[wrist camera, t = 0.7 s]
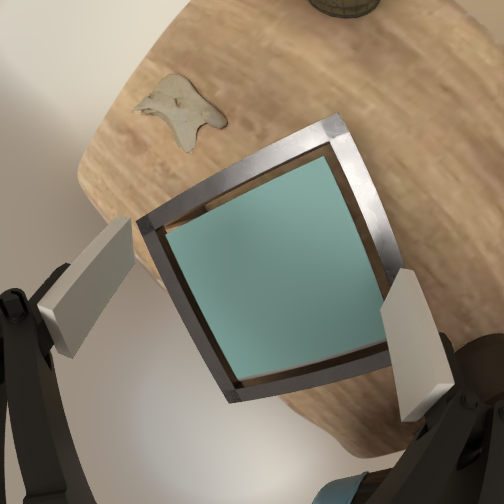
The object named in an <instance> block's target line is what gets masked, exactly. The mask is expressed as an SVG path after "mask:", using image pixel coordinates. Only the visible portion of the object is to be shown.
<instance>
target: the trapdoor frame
mask: <svg viewBox="0 0 504 504" xmlns="http://www.w3.org/2000/svg"><path fill="white" fill-rule="evenodd" d="M330 143H331V145H332V147H333V149H334V152H335V154H336V156H337V158H338V160H339V162H340V164H341V166H342V168H343V171H344V173H345V175H346V177H347V179H348V181H349V184H350V186H351V188H352V190H353V193H354V195H355V197H356V200H357V202H358V204H359V207H360V209H361V211H362V214H363V216H364V219H365V221H366V224H367V226H368V228H369V231H370V234H371V236H372V239H373V241H374V244H375V246H376V249H377V252H378V254H379V257H380V260H381V262H382V265H383V268H384V271H385V274H386V276H387V279H388V282H389V285H390V288H391V287H392V284H393V282H394V280H395V278H396V276H397V274H398V272H399V270H400V268H403V269H406V268H405V265H404V262H403V259H402V257H401V254H400V251H399V248H398V245H397V242H396V240H395V237H394V234H393V232H392V229H391V226H390V224H389V221H388V219H387V216H386V213H385V211H384V208H383V206H382V204H381V201H380V199H379V196H378V194H377V192H376V189H375V187H374V185H373V182H372V180H371V178H370V176H369V173H368V171H367V169H366V167H365V164H364V162H363V160H362V158H361V156H360V154H359V152H358V150H357V147H356V145H355V143H354V141H353V139H352V137H351V135H350V133H349V131H348V129H347V127H346V125H345V123H344V122H343V120H342V118H341V116H340V114H339V113H337V114H334V115H332V116H330V117H328V118H326V119H323V120H321V121H319V122H317V123H315V124H313V125H310V126H308V127H306V128H304V129H302V130H300V131H298V132H296V133H294V134H292V135H289V136H287V137H285V138H283V139H281V140H279V141H277V142H275V143H273V144H271V145H269V146H267V147H265V148H263V149H261V150H260V151H258V152H256V153H254V154H252V155H250V156H248V157H246V158H244V159H242V160H240V161H239V162H237V163H235V164H233V165H231V166H229V167H227V168H226V169H224V170H222V171H220V172H218V173H216V174H215V175H213V176H211V177H209V178H207V179H206V180H204V181H202V182H200V183H199V184H197V185H195V186H193V187H192V188H190V189H188V190H186V191H185V192H183V193H181V194H180V195H178V196H176V197H175V198H173V199H171V200H170V201H168V202H166V203H165V204H163V205H161V206H160V207H158V208H156V209H155V210H153V211H151V212H150V213H148V214H147V215H145V216H143V217H142V218H140V219H139V220H137V221H136V223H137V225H138V227H139V230H140V232H141V234H142V237H143V239H144V241H145V243H146V246H147V248H148V250H149V252H150V254H151V257H152V259H153V261H154V263H155V265H156V267H157V270H158V272H159V274H160V276H161V278H162V280H163V282H164V284H165V286H166V288H167V290H168V292H169V295H170V297H171V299H172V301H173V302H174V305H175V307H176V308H177V310H178V312H179V314H180V316H181V318H182V320H183V322H184V324H185V326H186V328H187V330H188V332H189V334H190V336H191V337H192V339H193V341H194V343H195V345H196V347H197V348H198V350H199V352H200V354H201V356H202V358H203V359H204V361H205V363H206V365H207V367H208V368H209V370H210V372H211V373H212V375H213V377H214V379H215V380H216V382H217V384H218V386H219V388H220V389H221V391H222V392H223V394H224V396H225V398H226V399H227V401H228V403H236V402H242V401H249V400H254V399H260V398H265V397H271V396H276V395H281V394H286V393H291V392H295V391H300V390H304V389H309V388H313V387H317V386H321V385H325V384H329V383H333V382H337V381H340V380H344V379H348V378H351V377H355V376H358V375H362V374H365V373H368V372H372V371H375V370H378V369H381V368H384V367H387V366H391V365H392V363H391V357H390V352H389V348H388V343H387V341H386V342H383V343H380V344H377V345H374V346H371V347H368V348H365V349H361V350H358V351H355V352H352V353H349V354H345V355H342V356H339V357H335V358H332V359H328V360H325V361H321V362H318V363H314V364H310V365H307V366H303V367H299V368H295V369H291V370H287V371H283V372H279V373H274V374H270V375H266V376H261V377H257V378H252V379H247V380H242V381H239V380H238V379H237V377H236V375H235V374H234V372H233V370H232V368H231V366H230V364H229V363H228V361H227V359H226V357H225V355H224V353H223V351H222V350H221V348H220V346H219V344H218V342H217V340H216V338H215V336H214V334H213V332H212V330H211V329H210V327H209V325H208V323H207V321H206V319H205V317H204V315H203V313H202V311H201V309H200V307H199V305H198V303H197V301H196V299H195V297H194V295H193V293H192V291H191V289H190V287H189V285H188V283H187V280H186V278H185V276H184V274H183V272H182V270H181V268H180V266H179V264H178V262H177V259H176V257H175V255H174V253H173V251H172V249H171V246H170V244H169V242H168V240H167V238H166V234H167V232H166V229H169V228H173V227H176V226H179V225H182V224H186V223H188V222H190V221H192V220H194V219H196V218H198V217H200V216H201V215H203V214H205V213H207V211H206V209H205V207H204V205H205V204H207V203H209V202H211V201H213V200H215V199H217V198H219V197H221V196H223V195H224V194H226V193H228V192H230V191H232V190H234V189H236V188H238V187H240V186H242V185H244V184H246V183H248V182H250V181H252V180H254V179H256V178H258V177H260V176H262V175H264V174H266V173H268V172H270V171H272V170H274V169H276V168H278V167H280V166H282V165H284V164H287V163H289V162H291V161H293V160H295V159H297V158H299V157H301V156H303V155H306V154H308V153H310V152H312V151H314V150H316V149H319V148H321V147H323V146H325V145H327V144H330Z"/></svg>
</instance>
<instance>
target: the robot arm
mask: <svg viewBox="0 0 504 504" xmlns="http://www.w3.org/2000/svg"><path fill="white" fill-rule="evenodd" d="M134 264H135V262H134V251H133V240H132V227H131V218H129V217H123V216H116V217H115V218H114V219H113V220H112V221H111V222H110V223H109V224H108V225H107V226H106V228H105V229H104V230H103V231H102V232H101V233H100V234H99V235H98V236H97V237H96V238H95V239H94V240H93V241H92V242H91V243H90V244H89V245H88V247H86V248H85V250H84V251H83V252H82V253H81V254H80V255H79V256H78V257H77V258H76V259H75V261H74V262H73V263H72V264H68V263H65V264H63V265H62V266H60V267H58V268H57V269H56V270H55V271H54V272H53V273H52V274H51V276H50V277H49V278H48V279H47V280H46V281H45V282H44V284H42V286H41V287H40V288H39V289H38V290H37V291H36V293H35V294H34V295H33V296H32V297H31V298H30V300H29V301H28V300H27V298H26V295H25V293H24V291H22V290H21V289H18V288H12V289H9V290H7V291H5V292H3V293H2V294H1V295H0V504H6V496H5V477H4V475H5V474H4V443H5V423H6V410H7V400H8V408H9V415H10V422H11V428H12V433H13V439H14V444H15V449H16V453H17V458H18V462H19V466H20V470H21V474H22V477H23V481H24V485H25V488H26V496H25V497H24V499H23V504H97V503H96V501H95V499H94V497H93V495H92V492H91V490H90V487H89V485H88V483H87V480H86V477H85V475H84V472H83V469H82V467H81V464H80V461H79V458H78V455H77V453H76V450H75V446H74V443H73V440H72V437H71V434H70V430H69V427H68V423H67V420H66V416H65V413H64V409H63V405H62V401H61V396H60V392H59V388H58V383H57V378H56V374H55V368H54V363H53V358H52V354H51V352H50V349H51V348H52V346H53V345H55V347H56V349H57V351H58V353H59V354H62V355H64V356H67V357H69V358H72V359H73V358H74V356H75V354H76V353H77V351H78V349H79V348H80V346H81V345H82V343H83V341H84V339H85V338H86V336H87V335H88V333H89V331H90V330H91V328H92V327H93V325H94V324H95V322H96V320H97V319H98V317H99V316H100V314H101V313H102V311H103V309H104V308H105V307H106V305H107V303H108V302H109V301H110V299H111V298H112V296H113V295H114V293H115V292H116V290H117V288H118V287H119V285H120V284H121V283H122V281H123V280H124V278H125V277H126V275H127V274H128V272H129V271H130V270H131V268H132V267H133V265H134ZM380 312H381V316H382V320H383V324H384V329H385V333H386V338H387V343H388V348H389V352H390V357H391V363H392V368H393V373H394V379H395V385H396V390H397V397H398V403H399V410H400V416H401V422H415V421H418V420H419V419H420V418H421V417H422V416H423V415H424V414H425V418H426V422H425V423H424V424H423V425H421V426H420V427H419V428H418V429H417V430H416V431H415V432H414V433H413V435H415V434H416V433H417V434H416V436H415V437H414V439H413V440H412V442H411V443H410V445H409V446H408V448H407V449H406V451H405V452H404V453H403V455H402V456H401V458H400V459H399V461H398V462H397V463H396V465H395V466H394V467H393V468H389V469H385V470H380V471H376V472H372V473H369V472H363V473H362V474H361V475H356V476H352V477H347V478H343V479H338V480H334V481H332V482H329V483H328V484H326V485H325V486H324V487H323V488H322V489H321V490H320V491H319V492H318V494H317V495H316V497H315V498H314V500H313V502H312V504H504V334H494V335H488V336H485V337H482V338H479V339H477V340H475V341H473V342H471V343H469V344H467V345H466V346H464V347H463V348H461V349H460V350H459V351H457V352H456V353H454V349H453V347H452V344H451V342H450V340H449V339H448V338H447V336H446V335H445V334H444V333H438V331H437V328H436V325H435V322H434V320H433V317H432V314H431V312H430V309H429V307H428V304H427V302H426V299H425V297H424V294H423V292H422V289H421V287H420V285H419V282H418V280H417V278H416V275H415V273H414V271H413V270H408V269H403V268H400V270H399V272H398V274H397V276H396V278H395V280H394V282H393V284H392V287H391V289H390V291H389V293H388V295H387V297H386V299H385V301H384V303H383V305H382V307H381V309H380Z"/></svg>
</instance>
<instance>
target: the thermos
mask: <svg viewBox="0 0 504 504" xmlns="http://www.w3.org/2000/svg"><path fill="white" fill-rule="evenodd" d="M379 1H380V0H309V2H310V3H311V5H312V6H313V7H315V8H316V9H318V10H319V11H320V12H322V13H325V14H327V15H330V16H332V17H339V18H357V17H360V16H363V15H366V14H368V13H370V12H371V11H372V10H374V9H375V8H376V6H377V5H378V3H379Z"/></svg>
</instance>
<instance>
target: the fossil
mask: <svg viewBox="0 0 504 504" xmlns="http://www.w3.org/2000/svg"><path fill="white" fill-rule="evenodd" d="M136 110H142V111H141V114H154V115H156V116H159V117H160V118H162V119H163V120H164V121H165V122H166V123H167V124H168V126H169V127H170V129H171V131H172V133H173V136H174V138H175V141H176V143H177V145H178V147H181V148H182V149H183V150H184V151H185V152H186V153H192V149H193V148H194V147H195V144H196V132H197V129H198V128H199V126H200V125H203V124H205V123H208V124H209V125H211V126H213V127H215V128H222V127H224V126H225V125H226V124H227V120H226V118H225V117H224V116H223V115H222V114H221V113H220V112H219V111H218V110H217V109H216V108H215V107H214V106H212V105H211V104H210V103H208V102H207V101H206V100H204V99H203V98H202V97H201V96H200V95H199V94H198V93H197V92H196V90H195V89H194V88H193V86H192V85H191V83H190V81H189V80H188V79H186V78H185V77H184V76H182V75H179V74H169V75H168V76H166V77H165V78H163V79H162V80H161V81H160V82H159V84H158V85H157V86H156V87H155V89H154V90H153V92H152V93H151V94H149V96H147V97H145V98H144V99H143V100H142V101H141V102H140V103H139V104H138V105H137V106H136V107H135V108H134V109H133V111H132V113H133V112H134V111H136Z"/></svg>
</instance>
